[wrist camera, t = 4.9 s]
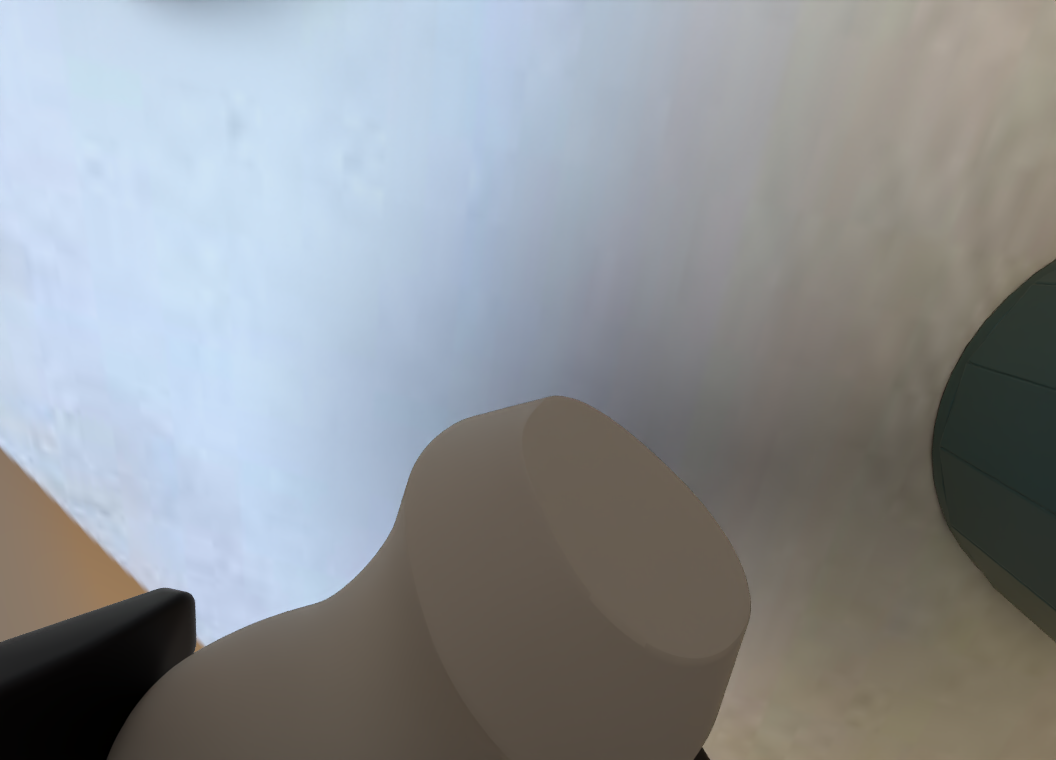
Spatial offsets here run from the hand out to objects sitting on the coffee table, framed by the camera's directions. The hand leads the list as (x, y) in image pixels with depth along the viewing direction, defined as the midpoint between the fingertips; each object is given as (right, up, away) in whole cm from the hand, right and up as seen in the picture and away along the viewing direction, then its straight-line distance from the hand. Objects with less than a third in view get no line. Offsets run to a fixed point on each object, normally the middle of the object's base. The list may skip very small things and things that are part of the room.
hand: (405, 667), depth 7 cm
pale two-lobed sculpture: (+1, 0, +1) cm, 1 cm away
